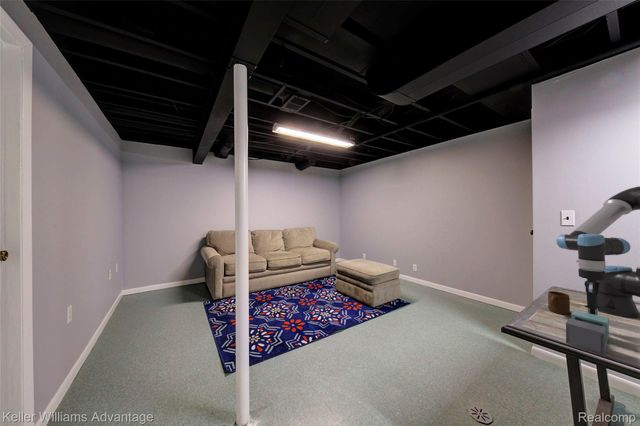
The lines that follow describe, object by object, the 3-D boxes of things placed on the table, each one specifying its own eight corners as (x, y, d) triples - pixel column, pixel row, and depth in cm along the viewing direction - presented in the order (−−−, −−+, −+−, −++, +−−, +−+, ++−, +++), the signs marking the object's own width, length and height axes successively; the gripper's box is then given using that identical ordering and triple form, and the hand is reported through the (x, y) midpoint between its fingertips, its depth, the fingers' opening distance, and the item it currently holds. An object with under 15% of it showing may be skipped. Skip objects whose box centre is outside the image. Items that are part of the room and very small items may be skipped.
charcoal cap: (569, 336, 91) (568, 318, 91) (606, 348, 83) (606, 327, 83) (566, 342, 87) (565, 322, 87) (605, 355, 79) (604, 333, 79)
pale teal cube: (574, 327, 98) (574, 309, 98) (609, 336, 91) (608, 317, 91) (571, 332, 94) (571, 314, 94) (607, 342, 87) (607, 322, 87)
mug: (563, 318, 107) (563, 299, 107) (542, 312, 113) (541, 294, 113) (572, 313, 112) (571, 294, 112) (551, 307, 119) (551, 290, 119)
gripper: (580, 265, 104) (581, 315, 104) (576, 270, 96) (577, 324, 96) (606, 268, 98) (608, 321, 98) (604, 273, 90) (605, 331, 90)
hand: (593, 322), depth 97 cm, fingers closed
